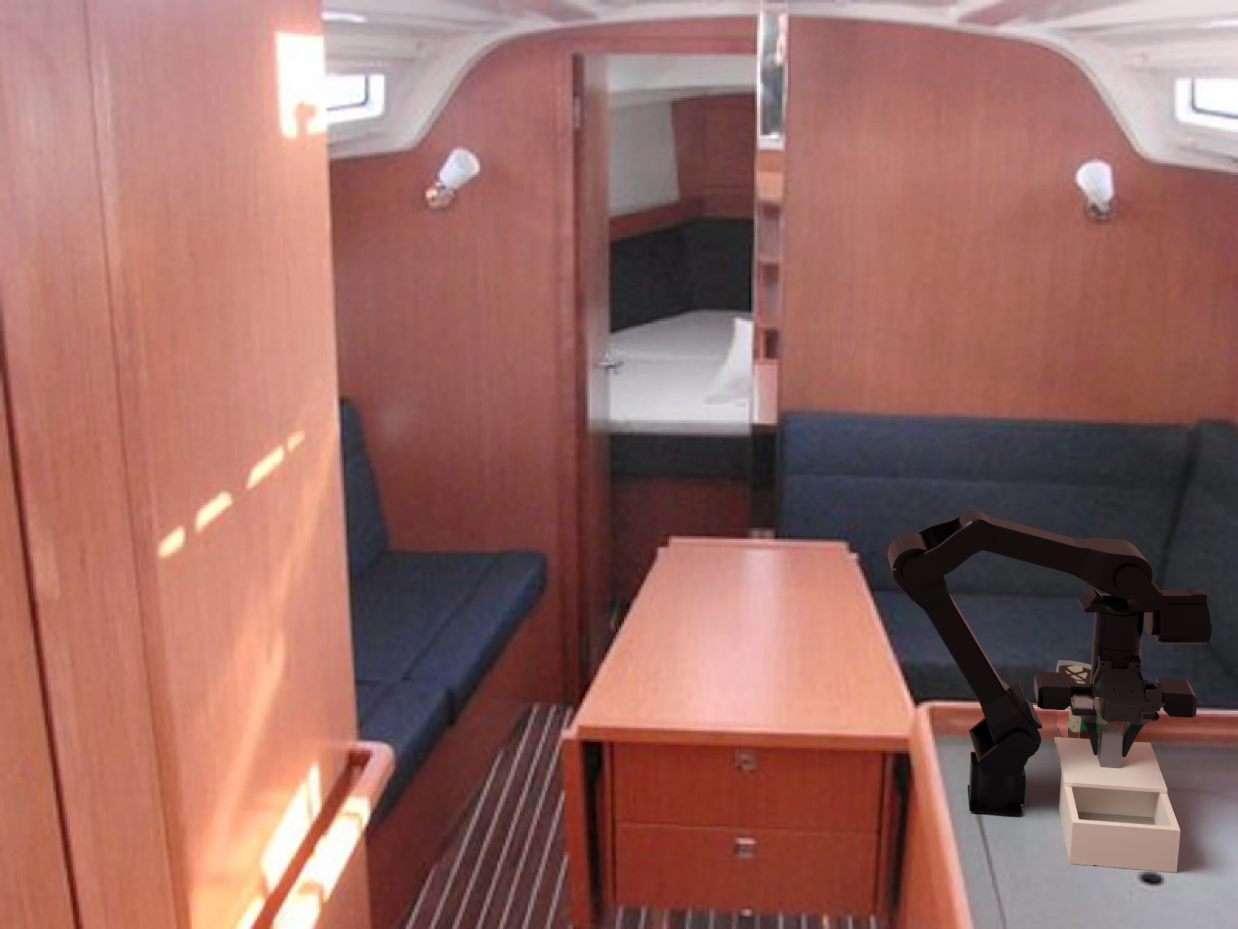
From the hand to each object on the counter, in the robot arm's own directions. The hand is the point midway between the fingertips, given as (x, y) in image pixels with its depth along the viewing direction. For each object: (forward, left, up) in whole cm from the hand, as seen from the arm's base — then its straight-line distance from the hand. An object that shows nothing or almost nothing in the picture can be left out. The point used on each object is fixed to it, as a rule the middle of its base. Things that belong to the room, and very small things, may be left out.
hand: (1109, 754), depth 166 cm
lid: (0, 0, -1) cm, 1 cm away
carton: (0, -8, -7) cm, 11 cm away
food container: (0, +18, -7) cm, 19 cm away
